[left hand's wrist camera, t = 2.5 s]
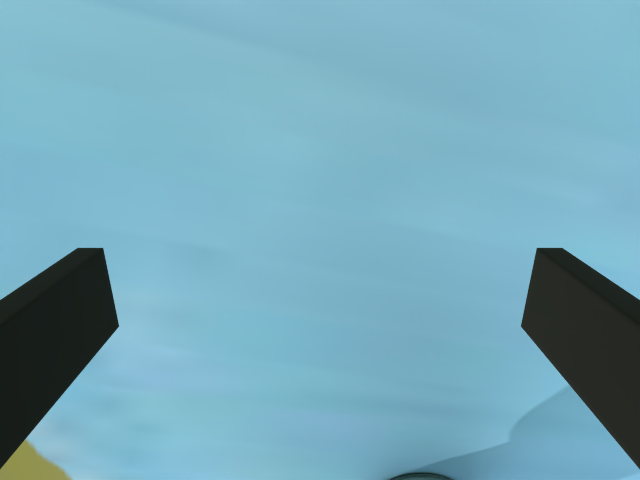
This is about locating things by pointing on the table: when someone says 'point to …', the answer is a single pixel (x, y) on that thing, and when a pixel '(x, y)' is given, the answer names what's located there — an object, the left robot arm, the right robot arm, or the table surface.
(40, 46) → the table surface
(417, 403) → the table surface
